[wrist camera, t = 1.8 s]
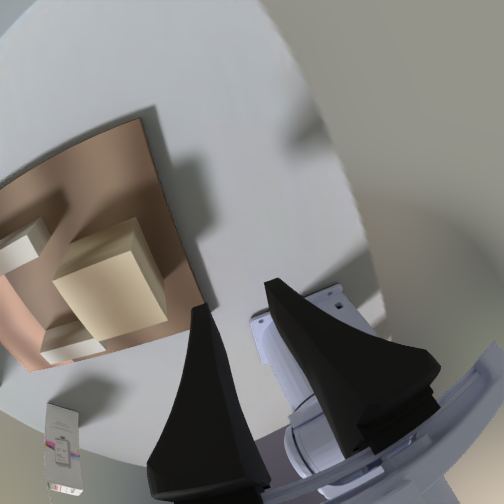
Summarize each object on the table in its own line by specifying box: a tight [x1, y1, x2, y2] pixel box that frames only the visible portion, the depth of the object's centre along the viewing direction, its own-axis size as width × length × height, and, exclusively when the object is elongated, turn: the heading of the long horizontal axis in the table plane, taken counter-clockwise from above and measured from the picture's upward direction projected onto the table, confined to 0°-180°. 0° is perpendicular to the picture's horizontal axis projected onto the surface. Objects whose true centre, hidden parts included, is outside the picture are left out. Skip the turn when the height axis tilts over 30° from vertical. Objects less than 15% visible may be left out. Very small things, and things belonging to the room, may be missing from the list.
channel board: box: [0, 118, 205, 372], centre depth 15 cm, size 21×16×4 cm
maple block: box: [52, 217, 168, 342], centre depth 15 cm, size 5×5×4 cm
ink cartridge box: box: [44, 403, 83, 504], centre depth 19 cm, size 9×5×15 cm, turn 145°
